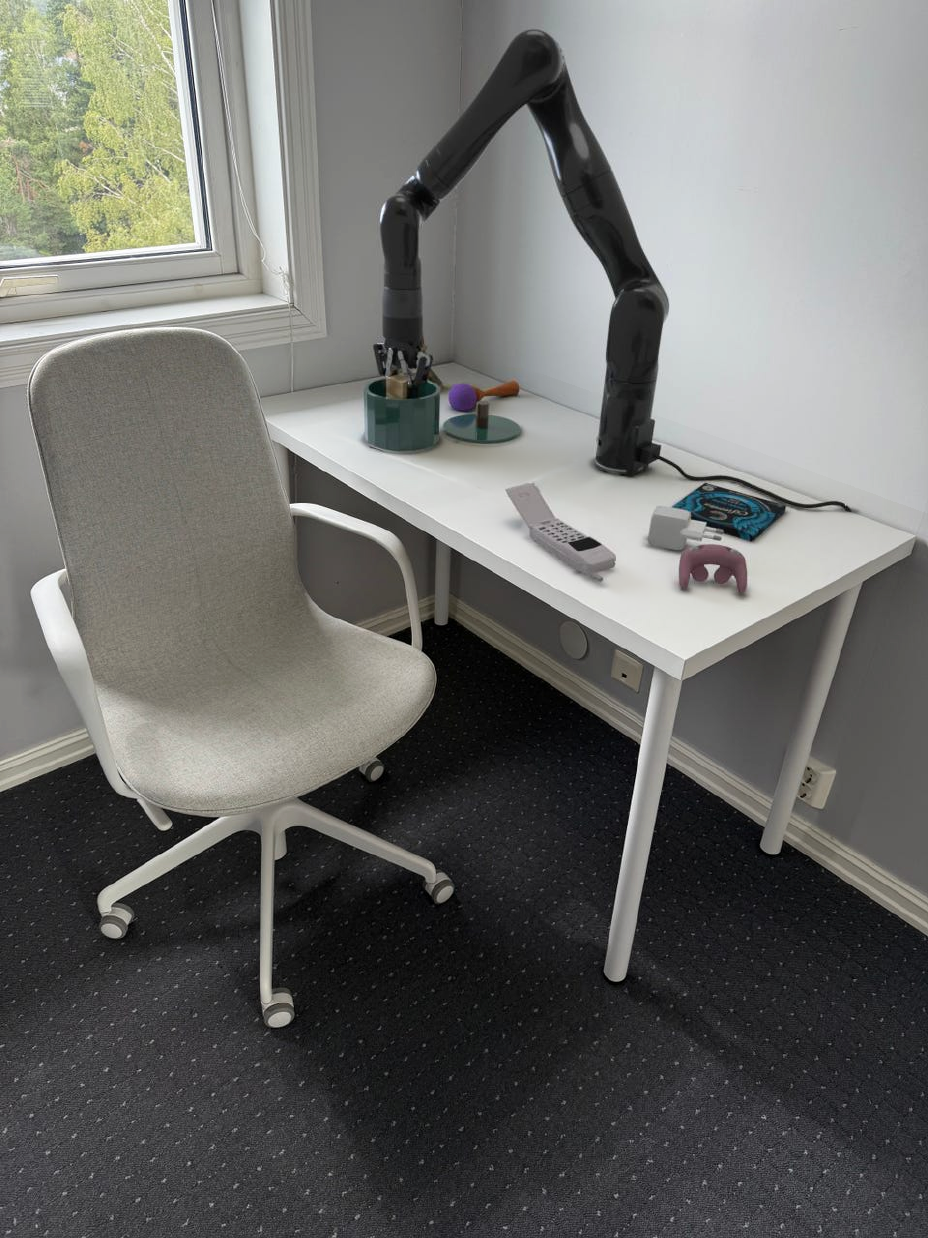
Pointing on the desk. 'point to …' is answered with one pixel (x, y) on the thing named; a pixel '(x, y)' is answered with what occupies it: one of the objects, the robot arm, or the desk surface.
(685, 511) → the power adapter
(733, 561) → the video game controller
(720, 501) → the guitar string package
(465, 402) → the kendama
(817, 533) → the desk surface
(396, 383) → the block
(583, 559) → the mobile phone
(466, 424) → the lid
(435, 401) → the pot
